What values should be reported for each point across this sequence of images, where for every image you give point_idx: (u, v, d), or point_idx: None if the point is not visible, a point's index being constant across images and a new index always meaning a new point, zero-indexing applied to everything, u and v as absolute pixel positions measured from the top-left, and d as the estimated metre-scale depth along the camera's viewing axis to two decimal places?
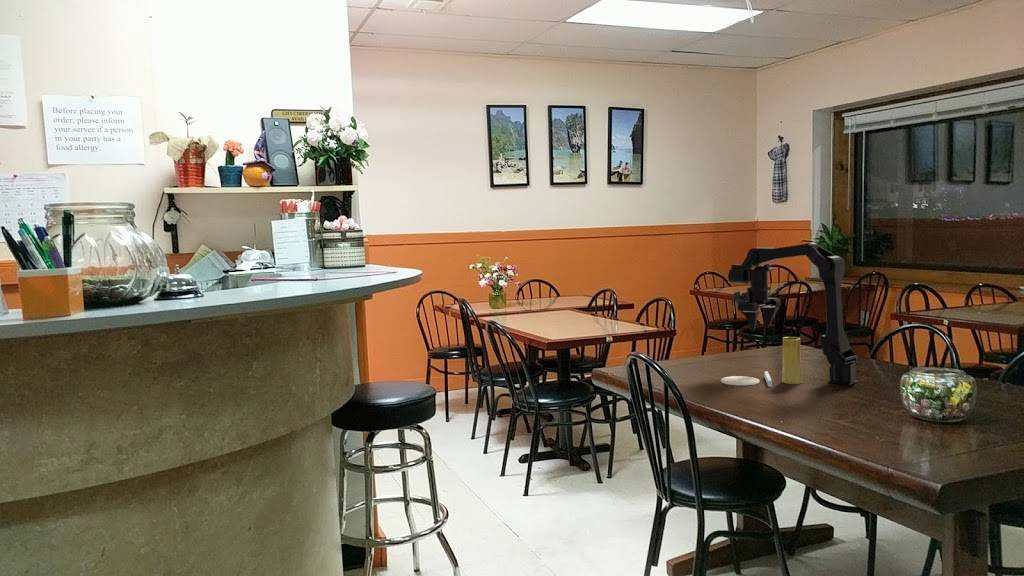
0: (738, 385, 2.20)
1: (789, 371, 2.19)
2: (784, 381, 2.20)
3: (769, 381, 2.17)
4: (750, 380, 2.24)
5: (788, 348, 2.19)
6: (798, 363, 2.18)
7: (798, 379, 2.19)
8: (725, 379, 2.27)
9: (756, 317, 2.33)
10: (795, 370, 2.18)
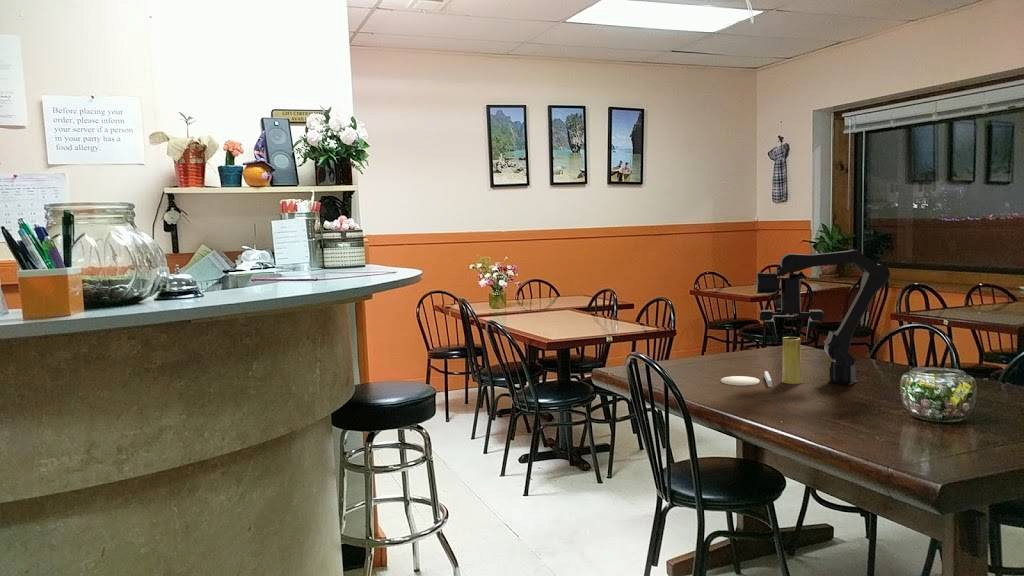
0: (738, 385, 2.20)
1: (789, 371, 2.19)
2: (784, 381, 2.20)
3: (769, 381, 2.17)
4: (750, 380, 2.24)
5: (788, 348, 2.19)
6: (798, 363, 2.18)
7: (798, 379, 2.19)
8: (725, 379, 2.27)
9: (771, 327, 2.20)
10: (795, 370, 2.18)
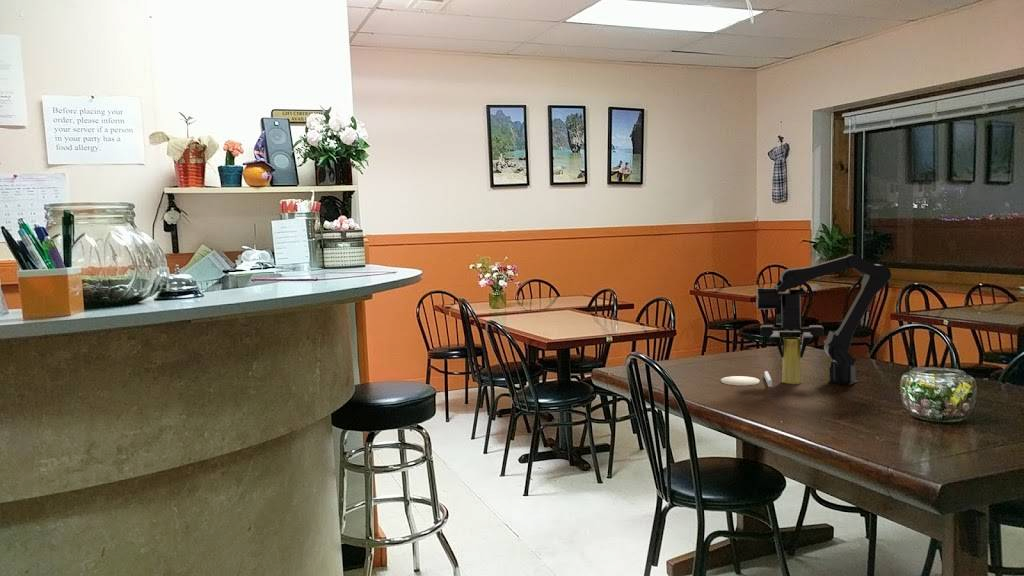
0: (738, 385, 2.20)
1: (789, 371, 2.19)
2: (784, 381, 2.20)
3: (769, 381, 2.17)
4: (750, 380, 2.24)
5: (788, 348, 2.19)
6: (798, 363, 2.18)
7: (798, 379, 2.19)
8: (725, 379, 2.27)
9: (777, 343, 2.20)
10: (795, 370, 2.18)
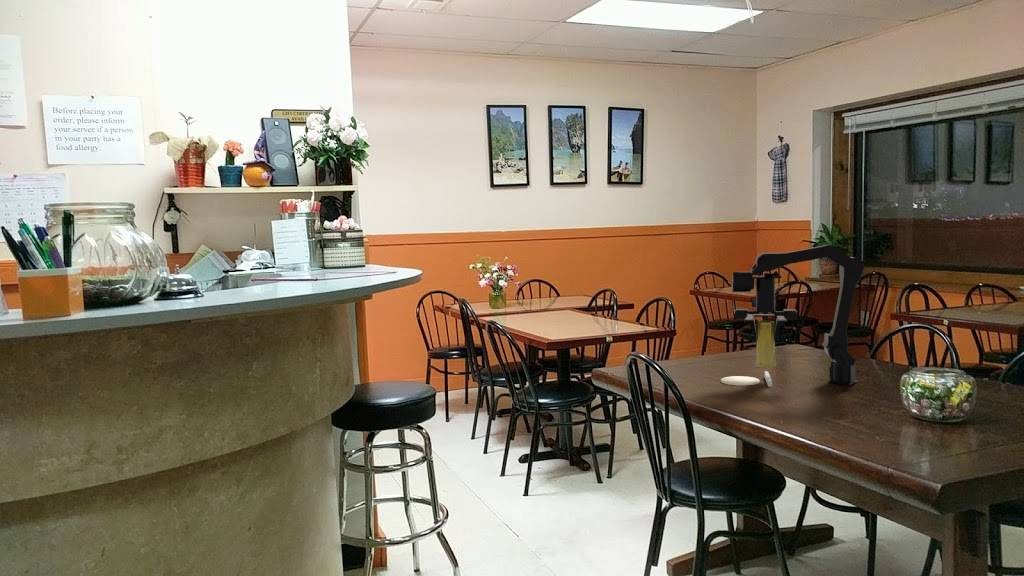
0: (738, 385, 2.20)
1: (762, 354, 2.21)
2: (758, 364, 2.22)
3: (769, 381, 2.17)
4: (750, 380, 2.24)
5: (762, 331, 2.20)
6: (772, 346, 2.20)
7: (771, 362, 2.20)
8: (725, 379, 2.27)
9: (751, 326, 2.21)
10: (769, 353, 2.20)
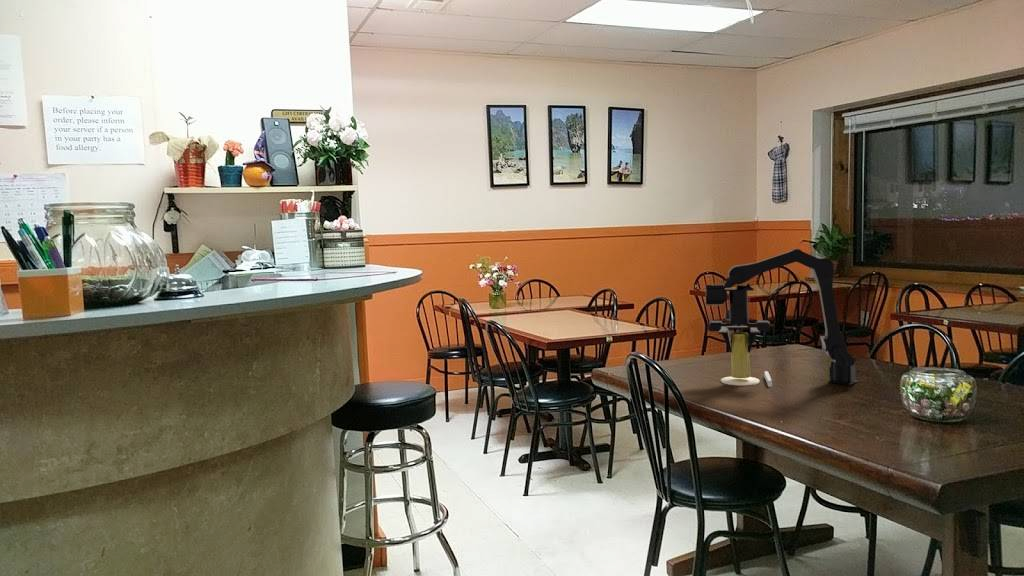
0: (738, 385, 2.20)
1: (737, 366, 2.23)
2: (733, 376, 2.24)
3: (769, 381, 2.17)
4: (750, 380, 2.24)
5: (736, 343, 2.23)
6: (746, 358, 2.23)
7: (746, 373, 2.23)
8: (725, 379, 2.27)
9: (726, 338, 2.24)
10: (743, 364, 2.23)
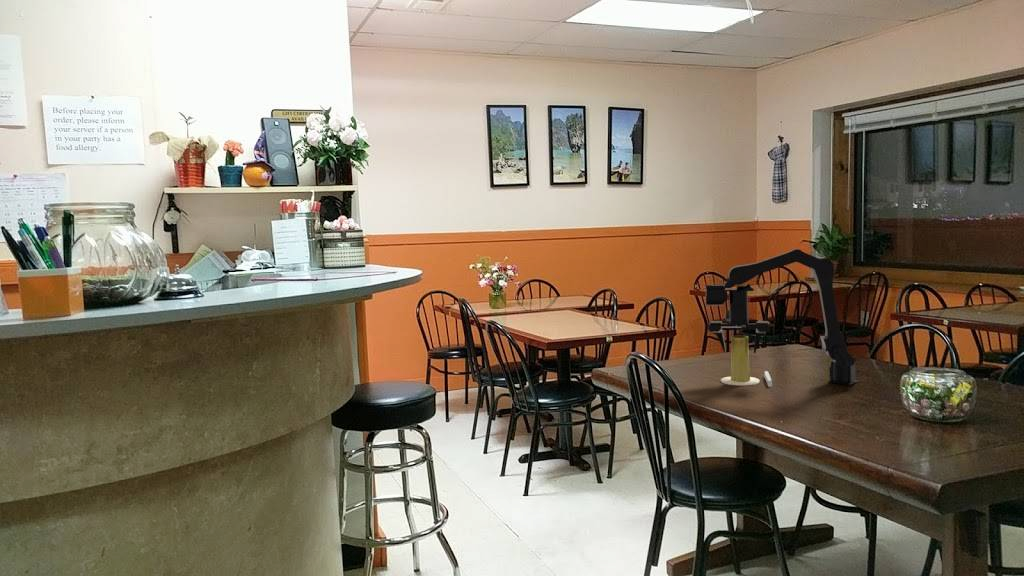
0: (738, 385, 2.20)
1: (737, 369, 2.23)
2: (733, 379, 2.24)
3: (769, 381, 2.17)
4: (750, 380, 2.24)
5: (736, 346, 2.23)
6: (746, 361, 2.23)
7: (746, 377, 2.23)
8: (725, 379, 2.27)
9: (720, 338, 2.24)
10: (743, 368, 2.23)
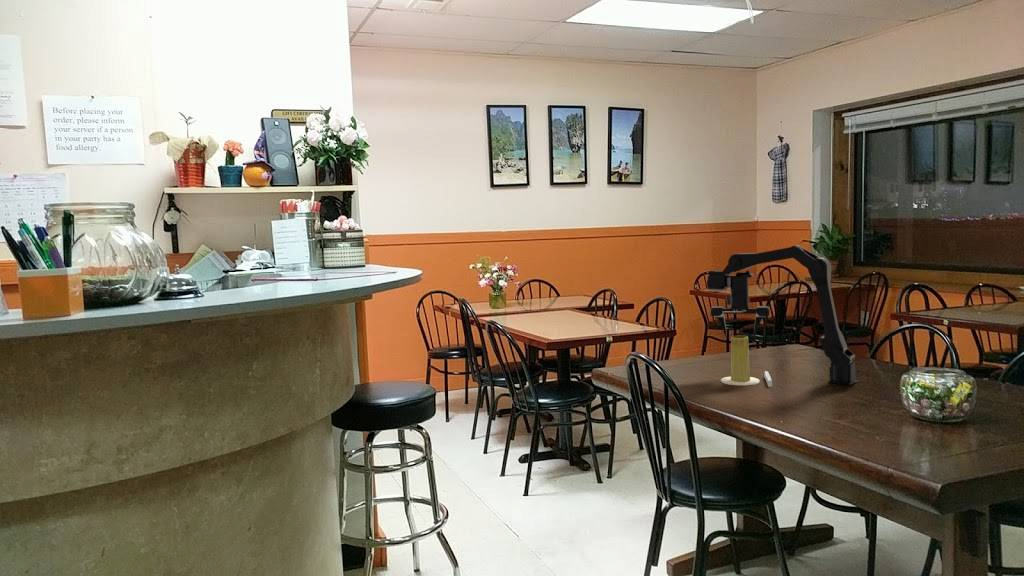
0: (738, 385, 2.20)
1: (737, 369, 2.23)
2: (733, 379, 2.24)
3: (769, 381, 2.17)
4: (750, 380, 2.24)
5: (736, 346, 2.23)
6: (746, 361, 2.23)
7: (746, 377, 2.23)
8: (725, 379, 2.27)
9: (721, 322, 2.34)
10: (743, 368, 2.23)
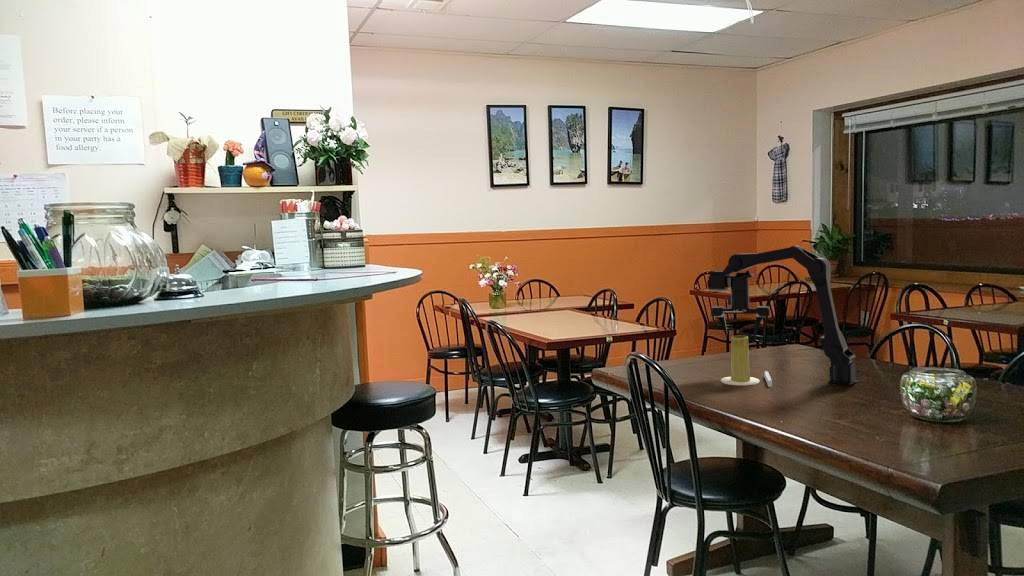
0: (738, 385, 2.20)
1: (737, 369, 2.23)
2: (733, 379, 2.24)
3: (769, 381, 2.17)
4: (750, 380, 2.24)
5: (736, 346, 2.23)
6: (746, 361, 2.23)
7: (746, 377, 2.23)
8: (725, 379, 2.27)
9: (722, 322, 2.35)
10: (743, 368, 2.23)
